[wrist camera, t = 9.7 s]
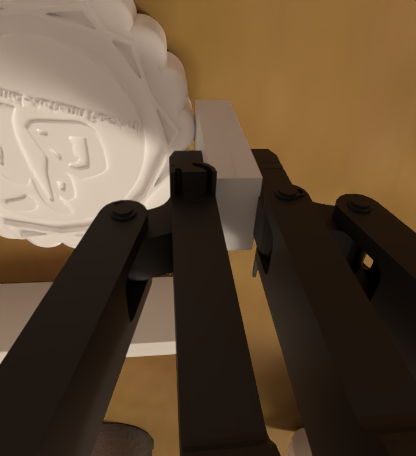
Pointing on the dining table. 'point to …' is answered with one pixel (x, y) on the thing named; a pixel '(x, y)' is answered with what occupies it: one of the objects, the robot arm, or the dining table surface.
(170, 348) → the box
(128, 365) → the dining table surface
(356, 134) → the dining table surface
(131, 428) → the pillar candle
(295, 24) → the dining table surface
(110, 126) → the mooncake
